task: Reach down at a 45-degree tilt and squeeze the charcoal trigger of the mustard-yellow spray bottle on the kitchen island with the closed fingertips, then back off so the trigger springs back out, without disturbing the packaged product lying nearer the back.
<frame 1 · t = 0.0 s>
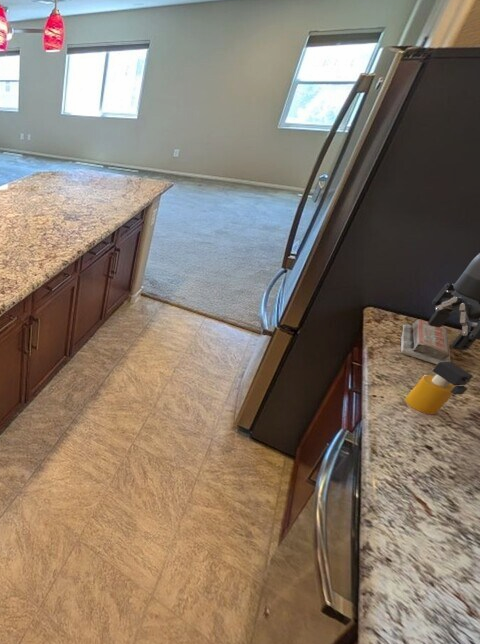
hand: (445, 336, 87), 23 cm above the countertop, tool pointing down, fingers open, 8 cm apart
packaged product: (422, 347, 117), on the countertop
spray bottle: (420, 405, 98), on the countertop
trigger: (458, 390, 91), point 9 cm above the countertop, slide at -0.1 cm
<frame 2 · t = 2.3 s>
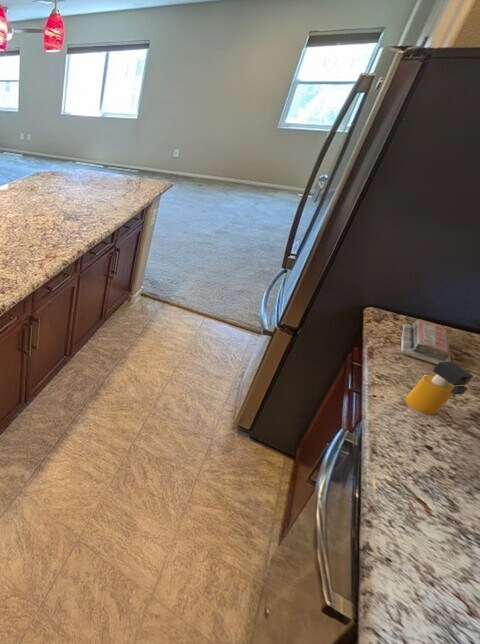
nothing on the countertop moved.
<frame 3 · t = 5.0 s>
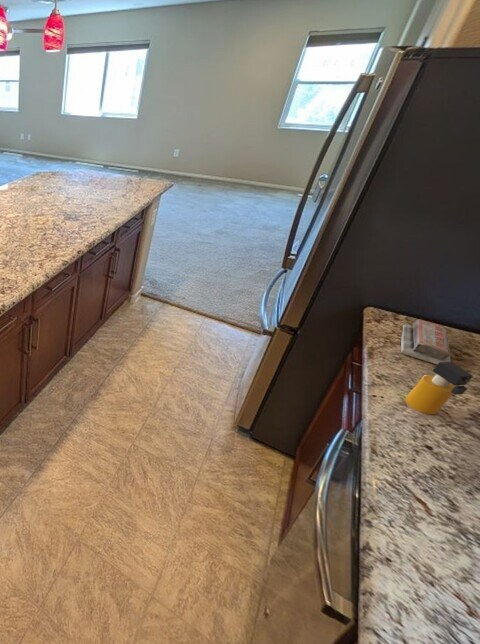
nothing on the countertop moved.
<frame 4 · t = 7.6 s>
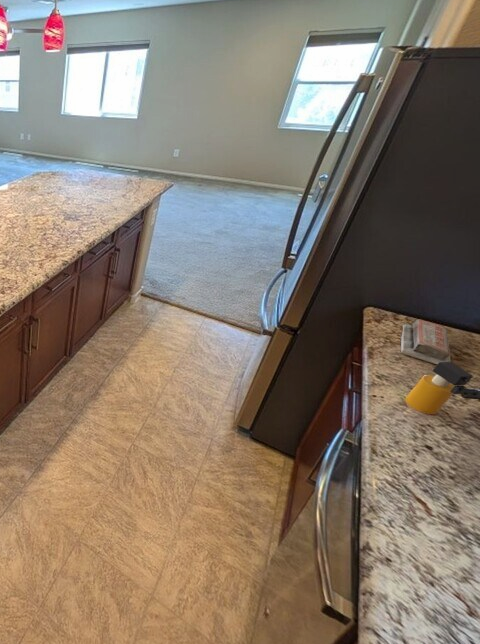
hand: (463, 393, 90), 9 cm above the countertop, tool tilted 45°, fingers closed
trigger: (458, 389, 91), point 9 cm above the countertop, slide at 0.1 cm, touching gripper
everything else where it was.
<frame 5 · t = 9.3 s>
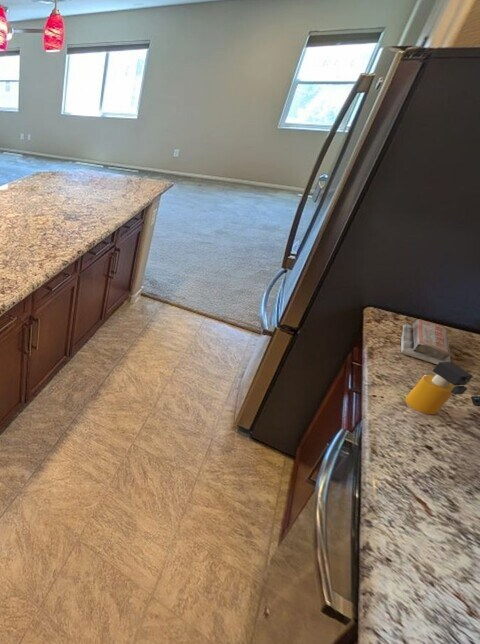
hand: (475, 400, 88), 9 cm above the countertop, tool tilted 45°, fingers closed
trigger: (458, 390, 91), point 9 cm above the countertop, slide at 0.0 cm
everything else where it was.
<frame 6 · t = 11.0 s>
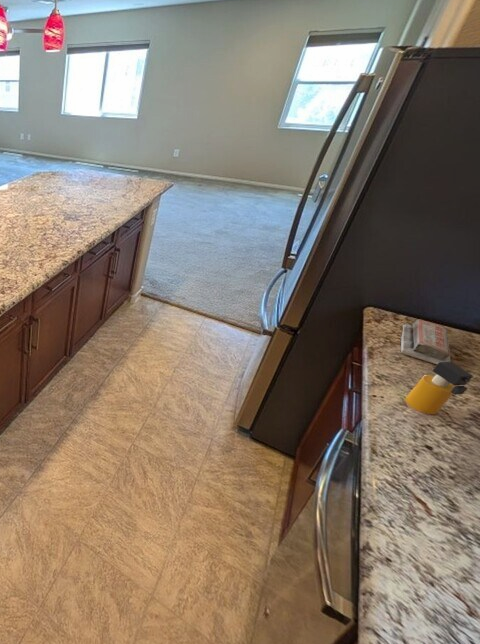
nothing on the countertop moved.
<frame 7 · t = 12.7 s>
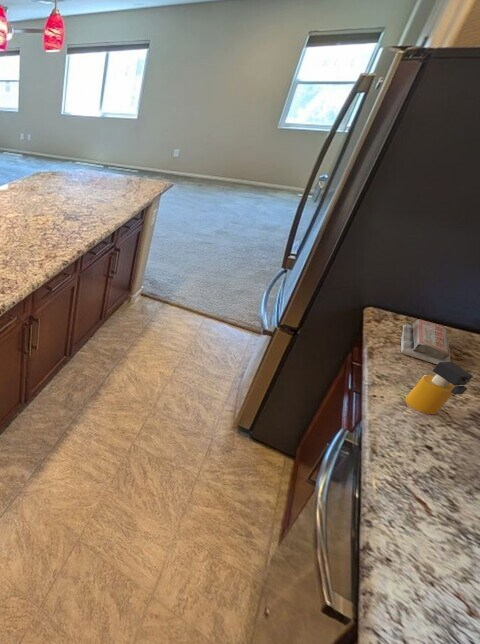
nothing on the countertop moved.
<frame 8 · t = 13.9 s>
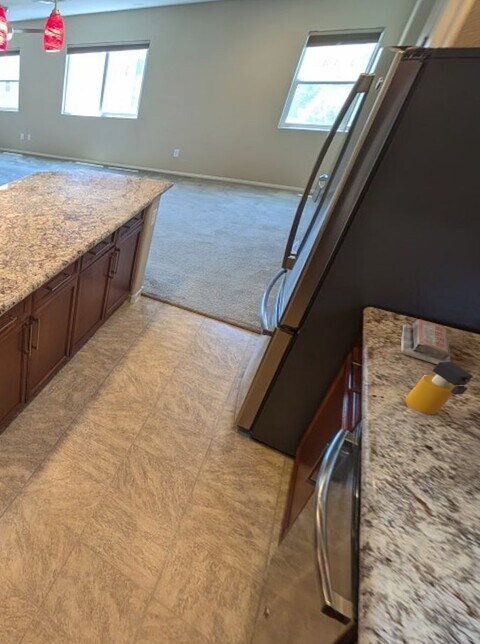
nothing on the countertop moved.
at the end: trigger pulled out 0.7 cm at the most during the clip, back to where it started at the end; trigger slide at 0.0 cm; packaged product moved 0.2 cm from its start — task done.
